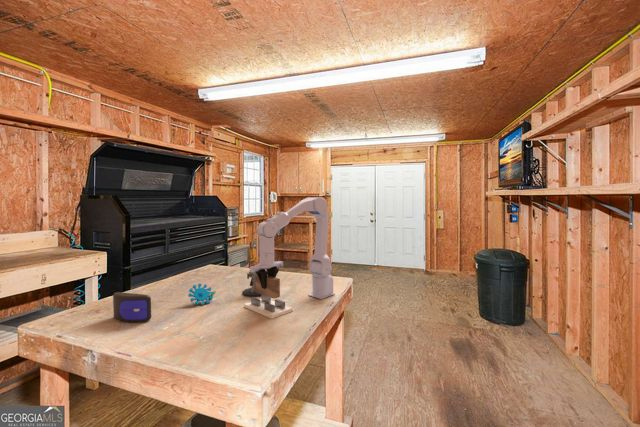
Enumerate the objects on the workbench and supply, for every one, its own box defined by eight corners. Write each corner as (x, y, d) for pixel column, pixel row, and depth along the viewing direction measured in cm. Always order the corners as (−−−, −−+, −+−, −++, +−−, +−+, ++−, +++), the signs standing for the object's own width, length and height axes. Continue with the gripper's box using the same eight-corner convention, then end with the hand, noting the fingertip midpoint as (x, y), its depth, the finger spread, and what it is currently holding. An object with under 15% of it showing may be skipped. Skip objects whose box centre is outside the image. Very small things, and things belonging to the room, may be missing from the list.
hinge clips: (263, 300, 121) (263, 294, 121) (285, 308, 112) (285, 301, 112) (251, 303, 117) (250, 297, 117) (272, 312, 107) (272, 306, 107)
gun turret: (283, 287, 144) (282, 261, 144) (257, 299, 126) (257, 269, 126) (262, 284, 150) (261, 259, 149) (235, 295, 132) (234, 267, 131)
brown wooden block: (262, 290, 120) (262, 273, 120) (281, 296, 112) (281, 278, 111) (255, 292, 117) (255, 275, 117) (274, 298, 109) (273, 280, 109)
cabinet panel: (264, 300, 124) (264, 297, 124) (292, 311, 112) (292, 308, 112) (244, 306, 117) (243, 303, 117) (271, 318, 105) (271, 315, 104)
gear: (190, 304, 115) (188, 282, 121) (186, 312, 118) (184, 290, 124) (218, 302, 122) (214, 282, 128) (213, 309, 125) (210, 289, 131)
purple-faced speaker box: (105, 320, 104) (104, 294, 104) (117, 316, 109) (116, 291, 108) (141, 325, 100) (141, 298, 100) (152, 320, 104) (152, 294, 104)
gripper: (275, 249, 122) (275, 281, 122) (245, 254, 111) (245, 289, 111) (286, 251, 117) (286, 284, 117) (255, 256, 106) (256, 293, 107)
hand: (267, 287), depth 114 cm, fingers closed on brown wooden block, 3 cm apart
